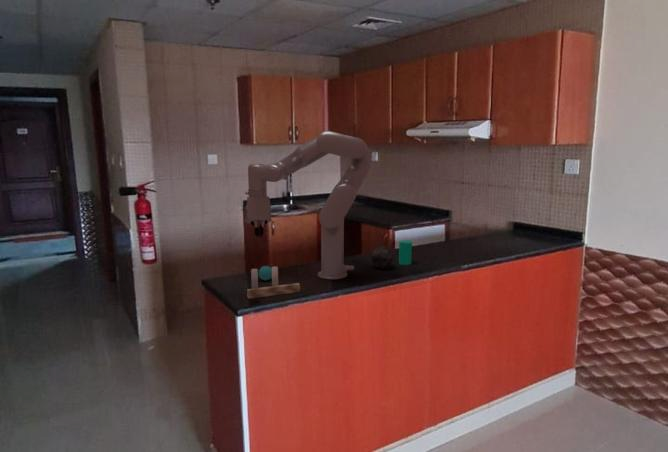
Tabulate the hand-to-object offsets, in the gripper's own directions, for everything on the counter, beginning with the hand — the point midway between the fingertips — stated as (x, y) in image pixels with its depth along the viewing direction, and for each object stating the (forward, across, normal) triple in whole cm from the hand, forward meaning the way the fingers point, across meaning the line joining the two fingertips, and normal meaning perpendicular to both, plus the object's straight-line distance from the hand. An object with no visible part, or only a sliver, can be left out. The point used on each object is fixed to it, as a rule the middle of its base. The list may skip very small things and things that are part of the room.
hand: (259, 235), depth 199 cm
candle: (+17, +68, -8) cm, 71 cm away
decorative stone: (+17, +54, -12) cm, 58 cm away
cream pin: (+17, 0, -24) cm, 29 cm away
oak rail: (+17, -2, -29) cm, 34 cm away
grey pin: (+17, -8, -24) cm, 30 cm away
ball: (+14, 0, -10) cm, 17 cm away
